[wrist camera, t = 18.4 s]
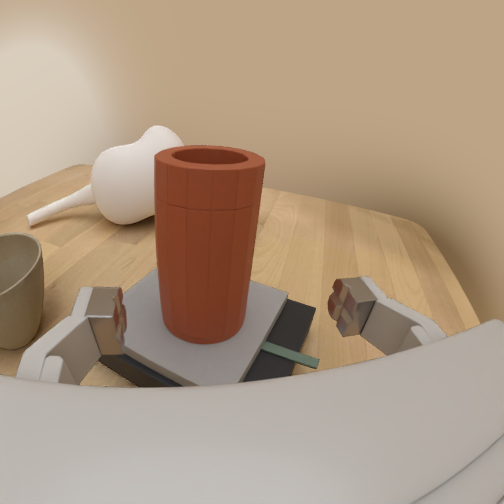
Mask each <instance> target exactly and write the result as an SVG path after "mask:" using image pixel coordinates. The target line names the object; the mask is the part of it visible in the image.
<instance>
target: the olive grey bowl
mask: <svg viewBox="0 0 504 504" xmlns="http://www.w3.org/2000/svg"><path fill="white" fill-rule="evenodd" d="M43 299H44V269H43V258H42V250H41V245H40V243H39V241H38V240H37V239H36V238H35V237H34V236H32V235H29V234H26V233H19V232H13V233H5V234H0V347H1V348H3V349H7V350H14V349H18V348H21V347H23V346H25V345H26V344H28V343H29V342H30V341H31V340H32V339H33V338H34V337H35V335H36V333H37V331H38V328H39V324H40V320H41V315H42V308H43Z"/></svg>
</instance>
